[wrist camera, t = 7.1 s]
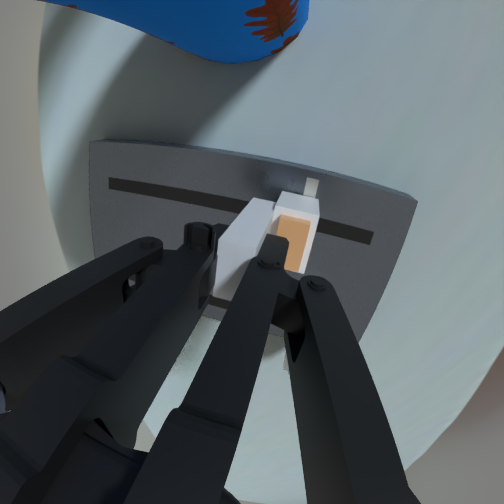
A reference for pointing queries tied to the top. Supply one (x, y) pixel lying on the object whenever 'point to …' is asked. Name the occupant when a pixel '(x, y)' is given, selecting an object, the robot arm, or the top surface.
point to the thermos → (209, 24)
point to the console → (236, 199)
